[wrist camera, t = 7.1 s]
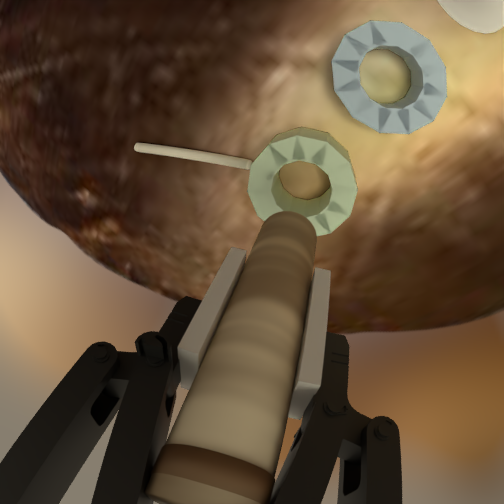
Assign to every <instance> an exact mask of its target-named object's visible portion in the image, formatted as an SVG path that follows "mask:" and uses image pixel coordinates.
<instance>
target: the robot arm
mask: <svg viewBox="0 0 504 504" xmlns="http://www.w3.org/2000/svg"><path fill="white" fill-rule="evenodd" d="M246 251H247V250H243V249H238V248H234V247H231V249H230V251H229V253H228V254H227V256H226V258H225V260H224V262H223V263H222V265H221V267H220V269H219V271H218V273H217V274H216V276H215V278H214V280H213V282H212V284H211V286H210V287H209V289H208V291H207V293H206V295H205V297H204V298H203V300H202V301H201V300H198V299H194V298H191V297H188V296H185V297H184V298H183V299H181V300H180V301H178V302H177V303H176V305H175V307H174V308H173V310H172V312H171V313H170V315H169V316H168V319H167V320H166V321H165V323H164V325H163V326H162V328H161V329H160V331H159V332H152V331H151V332H146V333H143V334H142V335H140V336H139V337H138V338H137V339H136V341H135V345H136V350H137V352H121V351H117V350H116V348H115V347H114V346H113V345H111V344H110V343H107V342H97V343H94V344H92V345H91V346H90V347H89V348H88V349H87V350H86V351H85V352H84V353H83V355H82V356H81V357H80V358H79V360H78V361H77V362H76V363H75V364H74V366H73V367H72V368H71V369H70V371H69V372H68V373H67V374H66V376H65V377H64V378H63V379H62V381H61V382H60V383H59V384H58V386H57V387H56V388H55V389H54V391H53V392H52V393H51V395H50V396H49V397H48V398H47V400H46V401H45V402H44V404H43V405H42V406H41V408H40V409H39V410H38V412H37V413H36V414H35V416H34V417H33V418H32V420H31V421H30V422H29V424H28V425H27V427H26V428H25V429H24V431H23V432H22V433H21V435H20V436H19V437H18V439H17V440H16V442H15V443H14V444H13V446H12V448H11V449H10V450H9V452H8V453H7V454H6V456H5V457H4V459H3V460H2V462H1V463H0V504H59V503H60V501H61V499H62V498H63V496H64V494H65V493H66V491H67V490H68V488H69V486H70V485H71V483H72V482H73V480H74V478H75V477H76V475H77V473H78V472H79V470H80V469H81V467H82V465H83V464H84V463H85V461H86V459H87V458H88V456H89V455H90V453H91V452H92V450H93V449H94V447H95V445H96V444H97V442H98V441H99V439H100V438H101V436H102V434H103V433H104V431H105V430H106V428H107V427H108V425H109V424H110V422H111V421H112V419H113V418H114V416H115V414H116V413H117V411H118V410H119V411H118V414H117V417H116V420H115V424H114V427H113V430H112V433H111V436H110V439H109V443H108V446H107V449H106V452H105V456H104V459H103V463H102V466H101V470H100V473H99V477H98V480H97V484H96V488H95V491H94V495H93V499H92V503H91V504H153V500H151V499H150V498H149V497H148V496H147V495H146V494H145V493H144V492H145V489H146V487H147V484H148V482H149V480H150V477H151V474H150V473H151V471H152V468H153V466H154V464H155V462H156V459H157V457H158V455H159V453H160V451H161V448H162V446H164V445H165V443H166V439H167V435H168V430H169V426H170V422H171V417H172V413H173V408H174V404H175V400H176V389H177V387H178V385H179V383H181V387H182V388H185V389H187V390H189V389H190V387H191V385H192V383H193V380H194V378H195V376H196V374H197V371H198V369H199V367H200V365H201V362H202V360H203V358H204V356H205V353H206V351H207V349H208V347H209V344H210V342H211V340H212V338H213V335H214V333H215V331H216V329H217V326H218V324H219V322H220V320H221V317H222V315H223V313H224V311H225V308H226V306H227V304H228V302H229V299H230V297H231V295H232V293H233V290H234V288H235V286H236V284H237V281H238V279H239V277H240V275H241V272H242V270H243V268H244V265H245V258H246ZM330 274H331V271H329V270H325V269H321V268H317V267H316V268H315V271H314V274H313V277H312V281H311V285H310V292H309V299H308V306H307V312H306V319H305V325H304V331H303V337H302V343H301V349H300V355H299V360H298V366H297V371H296V377H295V382H294V387H293V392H292V400H291V405H290V410H289V414H288V417H289V418H294V419H299V420H300V419H301V418H302V416H303V419H302V424H301V427H300V428H299V430H298V431H297V433H296V434H295V436H294V438H295V439H294V441H293V444H292V446H291V448H290V451H289V453H288V455H287V458H286V460H285V462H284V465H283V467H282V469H281V471H280V474H279V476H278V478H277V480H276V482H275V484H274V488H273V492H272V496H271V500H270V504H321V501H322V499H323V496H324V494H325V491H326V488H327V485H328V483H329V480H330V477H331V474H332V471H333V468H334V465H335V462H336V459H337V457H339V458H340V472H339V489H338V502H337V504H402V471H401V451H400V437H399V429H398V426H397V425H396V423H395V422H394V421H393V420H392V419H390V418H389V417H385V416H378V417H375V418H373V419H370V418H369V417H367V416H364V415H362V414H360V413H359V412H357V411H356V410H354V409H353V408H352V407H351V405H350V403H349V401H348V398H347V387H348V368H349V366H348V364H349V344H348V342H347V339H346V337H345V336H344V335H339V334H335V333H330V332H326V330H327V318H328V305H329V291H330Z"/></svg>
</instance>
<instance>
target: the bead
mask: <svg viewBox="0 0 504 504" xmlns="http://www.w3.org/2000/svg"><path fill="white" fill-rule="evenodd" d="M299 160H300V161H304V162H309V163H313V164H316V165H317V166H318V167H320V168H321V169H322V170H323V171H324V172H325V173H326V174H327V175H328V177H329V180H330V183H331V185H330V188H329V189H328V190H327V191H326V192H325V193H324V194H323V195H322V196H321V197H318V198H314V199H310V200H304V199H300V198H296V197H293V196H292V195H291V194H290V193H288V192H287V191H286V190H285V189H284V188H283V186H282V183H281V181H280V178H279V170H280V168H281V167H282V166H283V165H285V164H289V163H292V162H295V161H299ZM357 191H358V188H357V183H356V178H355V174H354V171H353V167H352V164H351V160H350V157H349V154H348V151H347V150H346V149H345V148H344V147H343V146H342V145H341V144H340V143H339V142H337V141H336V140H335V139H334V138H333V137H332V136H331V135H330V134H329V133H326V132H322V131H318V130H313V129H309V128H304V127H300V128H297V129H293V130H290V131H287V132H284V133H281V134H278V135H276V136H275V137H274V138H273V140H272V141H271V142H270V143H269V144H268V146H267V147H266V148H265V149H264V150H263V151H262V153H260V155H259V156H258V157H257V158H256V159H255V161H254V162H253V163H252V164H251V168H250V176H249V183H248V190H247V192H248V194H249V197H250V199H251V201H252V204H253V206H254V208H255V211H256V213H257V216H259V217H260V218H261V219H262V220H263V221H265V220H266V219H267V218H268V217H269V216H271V215H273V214H275V213H277V212H281V211H292V212H296V213H299V214H301V215H303V216H305V217H306V218H307V219H308V220H309V221H310V222H311V223H312V224H313V226H314V228H315V230H316V235H317V236H321V235H325V234H329V233H331V232H332V231H334V230H335V229H336V228H337V227H338V226H339V225H340V224H341V223H343V222H344V221H345V220H346V219H347V218H348V217H349V216H350V214H351V211H352V208H353V204H354V201H355V198H356V194H357Z"/></svg>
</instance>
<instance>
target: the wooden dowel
mask: <svg viewBox="0 0 504 504" xmlns="http://www.w3.org/2000/svg"><path fill="white" fill-rule="evenodd" d="M316 241H317V235H316V230H315V228H314V226H313V224H312V223H311V222H310V221H309V220H308V219H307V218H306V217H305V216H303V215H301V214H299V213H296V212H292V211H281V212H277V213H275V214H273V215H271V216H269V217H268V218H267V219H266V220H265V222H264V223H263V225H262V228H261V230H260V232H259V234H258V237H257V239H256V241H255V243H254V246H253V248H252V250H251V252H250V254H249V257H248V259H247V261H246V263H245V266H244V268H243V270H242V272H241V275H240V277H239V279H238V281H237V284H236V286H235V288H234V290H233V293H232V295H231V297H230V299H229V302H228V304H227V306H226V308H225V311H224V313H223V315H222V317H221V320H220V322H219V324H218V326H217V329H216V331H215V333H214V335H213V338H212V340H211V342H210V344H209V347H208V349H207V351H206V353H205V356H204V358H203V360H202V362H201V365H200V367H199V369H198V371H197V374H196V376H195V378H194V380H193V383H192V385H191V387H190V389H189V392H188V394H187V396H186V398H185V401H184V403H183V405H182V407H181V410H180V412H179V414H178V416H177V419H176V421H175V423H174V425H173V428H172V430H171V433H170V435H169V437H168V439H167V441H166V443H165V445H164V446H162V448H161V451H160V453H159V455H158V457H157V459H156V462H155V464H154V466H153V468H152V471H151V473H150V474H151V477H150V480H149V482H148V484H147V487H146V489H145V492H144V493H145V494H146V495H147V496H148V497H149V498H150V499H151V500H153V501H155V502H157V503H159V504H270V500H271V496H272V492H273V488H274V484H275V478H274V477H275V473H276V468H277V464H278V460H279V455H280V451H281V447H282V442H283V438H284V433H285V429H286V424H287V419H288V414H289V410H290V405H291V400H292V392H293V387H294V382H295V377H296V371H297V366H298V360H299V355H300V349H301V343H302V337H303V331H304V325H305V319H306V312H307V306H308V299H309V292H310V285H311V280H312V272H313V265H314V257H315V249H316Z"/></svg>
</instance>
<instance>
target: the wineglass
mask: <svg viewBox="0 0 504 504" xmlns="http://www.w3.org/2000/svg"><path fill="white" fill-rule="evenodd" d="M437 1H438V3H439V4H440V5H441V6H442V8H443V9H444V10H445V11H446V13H447V14H448V15H449V16H450V17H452V18H453V19H454V20H455V21H456V22H458V23H459V24H460V25H462V26H464V27H466V28H468V29H470V30H472V31H475V32H479V33H484V34H486V33H494V32H496V31H498V30H499V29H501V28H502V27H503V26H504V0H437Z"/></svg>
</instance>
